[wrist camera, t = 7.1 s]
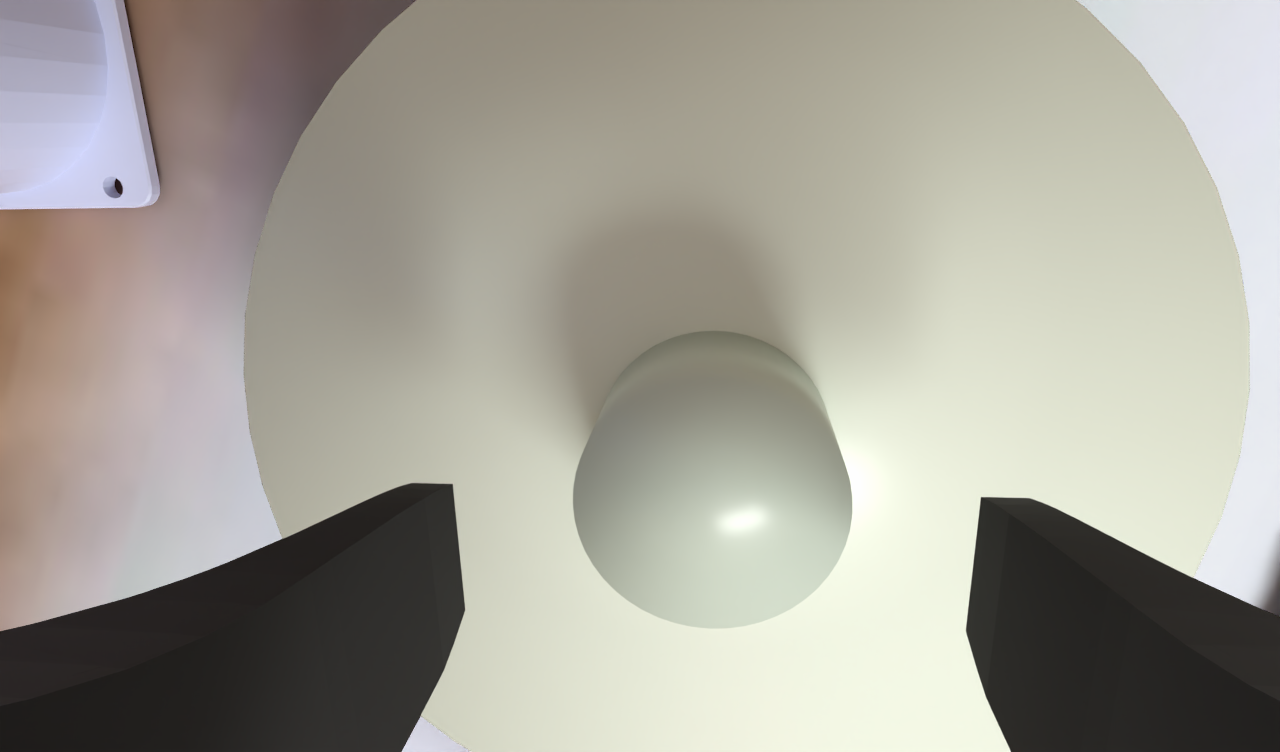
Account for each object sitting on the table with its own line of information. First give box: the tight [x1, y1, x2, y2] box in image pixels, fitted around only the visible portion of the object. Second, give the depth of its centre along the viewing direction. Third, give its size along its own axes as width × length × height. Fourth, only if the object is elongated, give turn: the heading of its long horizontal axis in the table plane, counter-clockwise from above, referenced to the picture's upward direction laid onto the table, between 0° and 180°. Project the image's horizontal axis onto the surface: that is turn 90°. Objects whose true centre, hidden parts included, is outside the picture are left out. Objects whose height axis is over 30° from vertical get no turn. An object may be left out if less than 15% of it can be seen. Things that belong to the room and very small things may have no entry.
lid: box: [244, 0, 1250, 752], centre depth 13 cm, size 17×17×3 cm
